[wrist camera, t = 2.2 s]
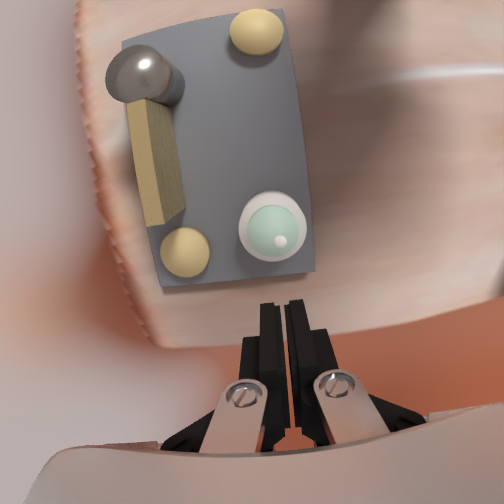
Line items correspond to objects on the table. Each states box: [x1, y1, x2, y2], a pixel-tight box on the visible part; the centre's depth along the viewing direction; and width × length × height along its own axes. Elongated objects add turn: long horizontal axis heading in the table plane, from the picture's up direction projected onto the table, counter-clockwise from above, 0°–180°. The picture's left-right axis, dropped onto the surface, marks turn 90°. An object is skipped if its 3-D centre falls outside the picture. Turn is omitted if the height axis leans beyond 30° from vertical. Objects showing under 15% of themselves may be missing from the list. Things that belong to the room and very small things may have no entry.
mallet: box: [105, 45, 186, 227], centre depth 24 cm, size 15×5×7 cm, turn 7°
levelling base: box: [122, 9, 315, 287], centre depth 26 cm, size 28×17×7 cm, turn 7°
